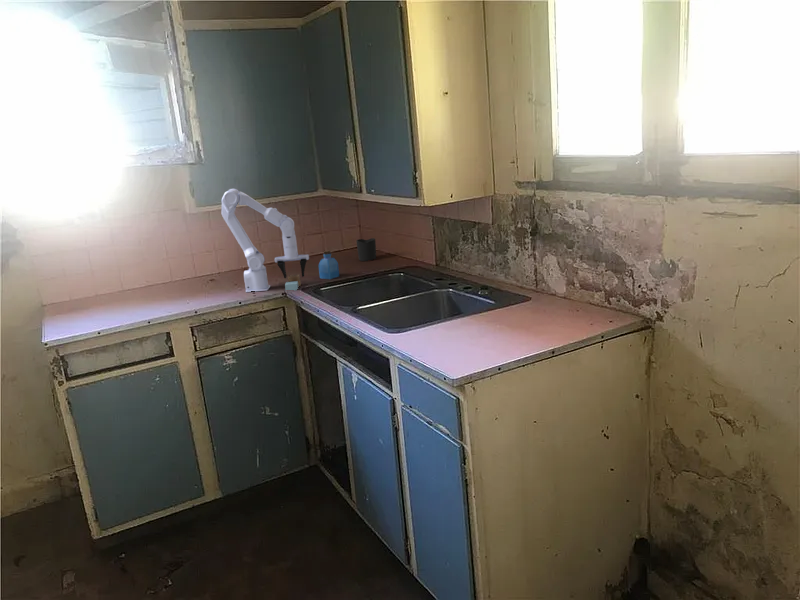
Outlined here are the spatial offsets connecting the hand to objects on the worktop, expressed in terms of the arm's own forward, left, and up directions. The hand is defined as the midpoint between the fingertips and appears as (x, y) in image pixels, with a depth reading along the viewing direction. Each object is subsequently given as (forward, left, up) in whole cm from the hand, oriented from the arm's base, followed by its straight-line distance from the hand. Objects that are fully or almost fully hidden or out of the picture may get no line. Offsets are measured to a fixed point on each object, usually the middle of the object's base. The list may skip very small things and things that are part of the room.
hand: (294, 277), depth 283 cm
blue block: (-1, -6, -4) cm, 7 cm away
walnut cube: (0, 0, -4) cm, 4 cm away
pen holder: (+30, +44, -4) cm, 54 cm away
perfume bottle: (+14, +11, -4) cm, 19 cm away
